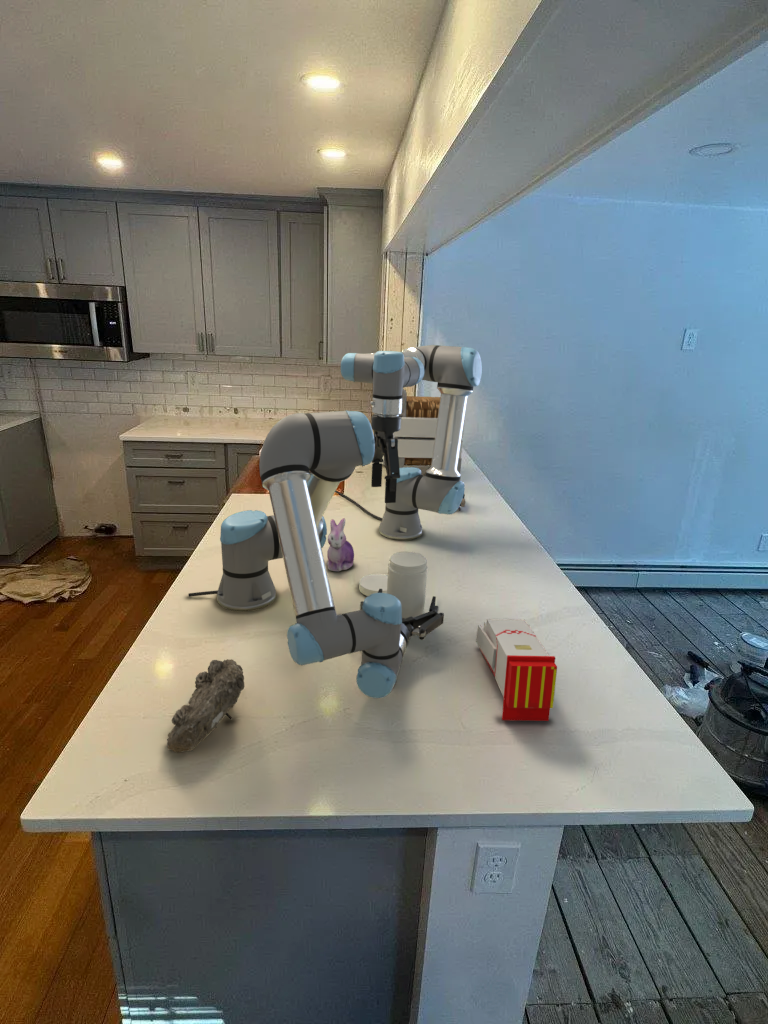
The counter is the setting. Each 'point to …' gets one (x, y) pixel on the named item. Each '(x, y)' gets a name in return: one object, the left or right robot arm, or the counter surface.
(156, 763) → the counter surface
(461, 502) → the figurine character
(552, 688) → the toy
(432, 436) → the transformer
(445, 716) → the counter surface
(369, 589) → the lid
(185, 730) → the fossil
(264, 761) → the counter surface
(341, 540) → the figurine
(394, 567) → the jar
